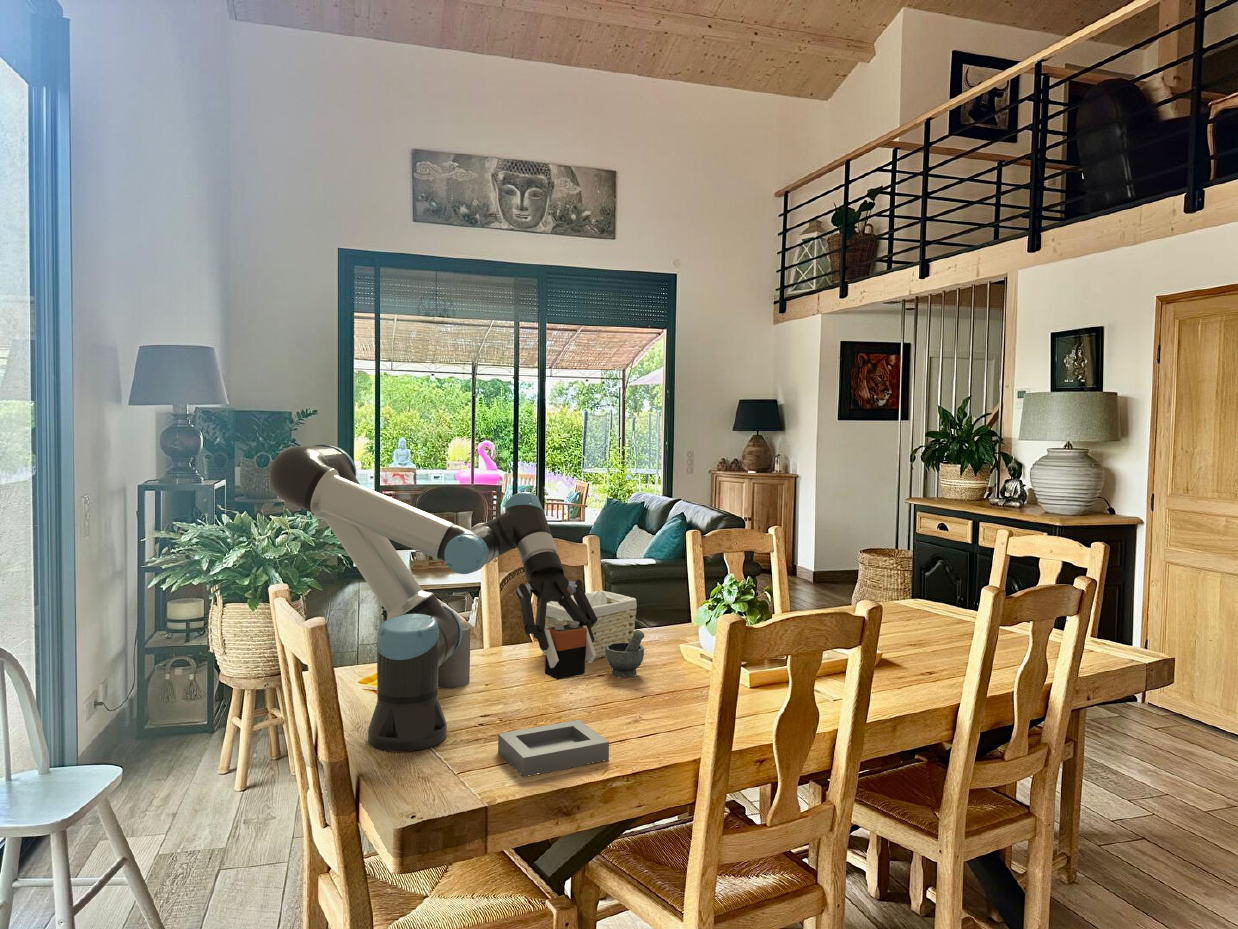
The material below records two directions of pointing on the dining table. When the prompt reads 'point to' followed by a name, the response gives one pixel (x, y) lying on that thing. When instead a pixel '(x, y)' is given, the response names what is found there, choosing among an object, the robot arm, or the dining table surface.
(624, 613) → the storage basket
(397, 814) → the dining table surface
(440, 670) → the pillar candle
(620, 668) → the mortar and pestle
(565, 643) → the battery
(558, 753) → the tray
